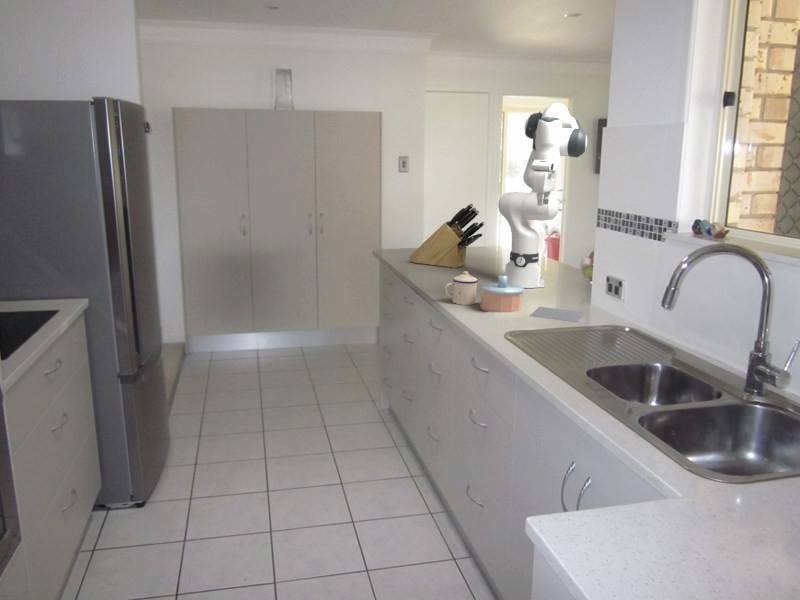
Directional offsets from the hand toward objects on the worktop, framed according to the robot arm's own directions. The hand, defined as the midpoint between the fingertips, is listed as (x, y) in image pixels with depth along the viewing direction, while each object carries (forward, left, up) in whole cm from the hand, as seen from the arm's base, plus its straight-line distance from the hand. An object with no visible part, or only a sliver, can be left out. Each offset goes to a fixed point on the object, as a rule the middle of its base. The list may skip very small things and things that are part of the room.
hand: (542, 204), depth 229 cm
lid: (+10, -10, -30) cm, 33 cm away
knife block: (-66, -59, -37) cm, 96 cm away
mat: (+9, +10, -37) cm, 39 cm away
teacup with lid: (+8, -26, -37) cm, 46 cm away
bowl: (+10, -10, -37) cm, 40 cm away
